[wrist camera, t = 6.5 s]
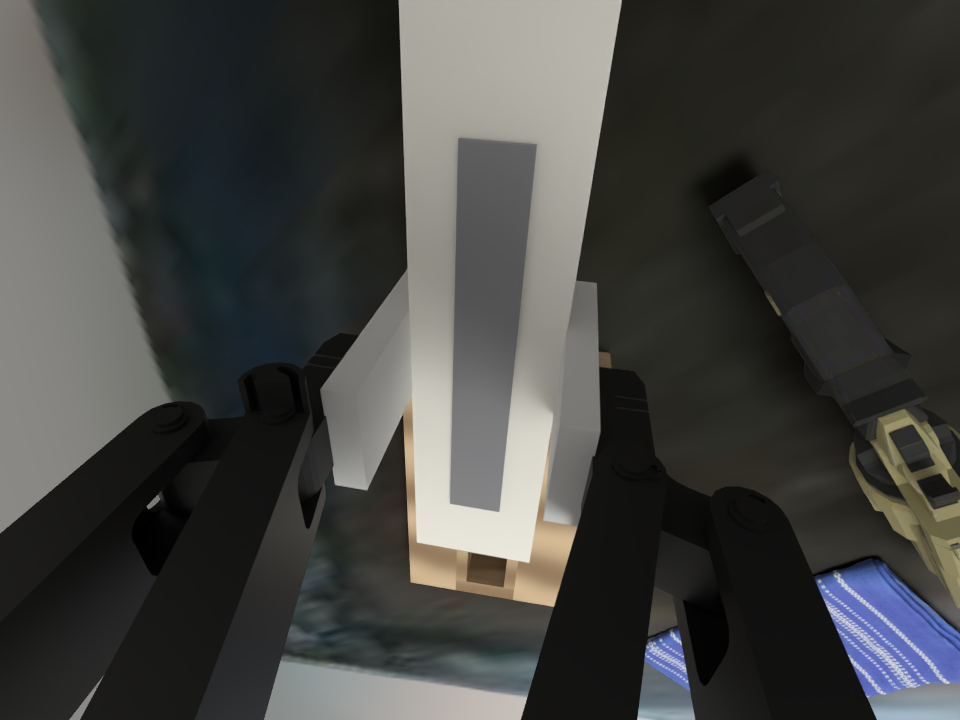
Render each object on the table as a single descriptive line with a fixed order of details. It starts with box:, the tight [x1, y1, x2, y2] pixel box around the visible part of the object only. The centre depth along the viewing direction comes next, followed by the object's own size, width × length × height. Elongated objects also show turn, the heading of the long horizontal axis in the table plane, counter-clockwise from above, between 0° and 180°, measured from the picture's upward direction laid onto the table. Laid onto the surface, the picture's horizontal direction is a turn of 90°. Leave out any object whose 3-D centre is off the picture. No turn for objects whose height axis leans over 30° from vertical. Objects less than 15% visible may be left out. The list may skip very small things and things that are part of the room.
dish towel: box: [644, 558, 960, 698], centre depth 46 cm, size 17×24×3 cm
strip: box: [399, 0, 622, 563], centre depth 16 cm, size 16×4×7 cm, turn 177°
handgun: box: [708, 169, 960, 609], centre depth 29 cm, size 4×30×16 cm, turn 39°
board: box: [403, 352, 611, 607], centre depth 39 cm, size 24×13×3 cm, turn 177°
